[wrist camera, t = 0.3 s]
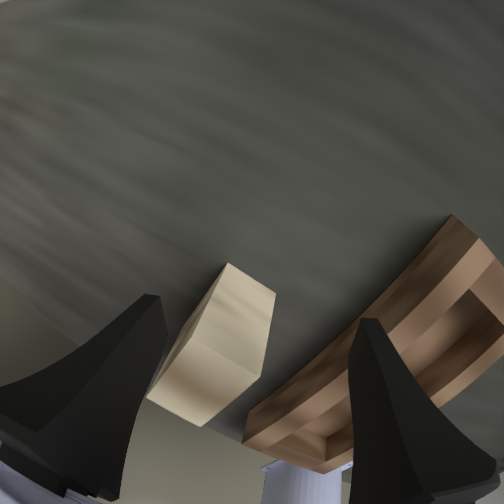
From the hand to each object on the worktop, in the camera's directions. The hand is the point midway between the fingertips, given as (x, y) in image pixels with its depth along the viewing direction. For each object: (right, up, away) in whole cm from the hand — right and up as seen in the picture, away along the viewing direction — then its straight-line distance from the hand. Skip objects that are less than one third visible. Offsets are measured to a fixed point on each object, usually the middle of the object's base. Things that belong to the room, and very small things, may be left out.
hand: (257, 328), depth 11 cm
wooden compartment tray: (+10, -7, +13) cm, 18 cm away
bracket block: (-2, -2, +13) cm, 13 cm away
